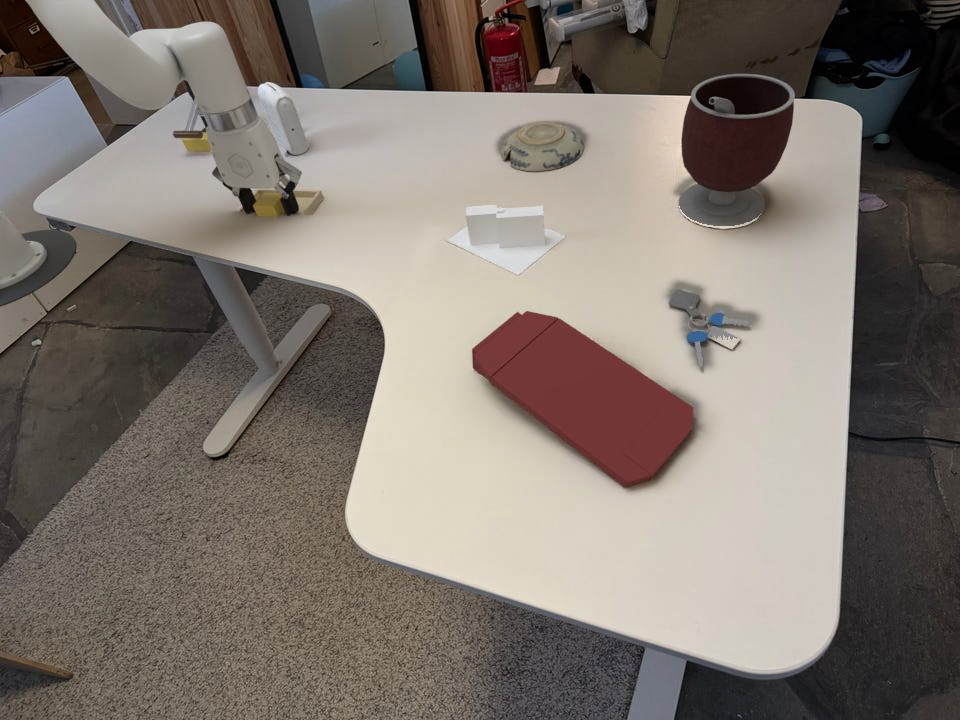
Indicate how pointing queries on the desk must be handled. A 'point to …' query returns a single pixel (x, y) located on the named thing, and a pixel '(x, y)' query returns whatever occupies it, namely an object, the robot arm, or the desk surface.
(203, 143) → the butter
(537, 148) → the decorative bowl
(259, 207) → the butter pat
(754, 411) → the desk surface
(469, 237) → the napkin holder
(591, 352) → the dark red case
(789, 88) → the mate gourd
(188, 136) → the grey and brown t-shape
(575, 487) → the desk surface
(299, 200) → the beige square tray
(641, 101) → the desk surface
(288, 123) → the photo printer
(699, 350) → the key chain
